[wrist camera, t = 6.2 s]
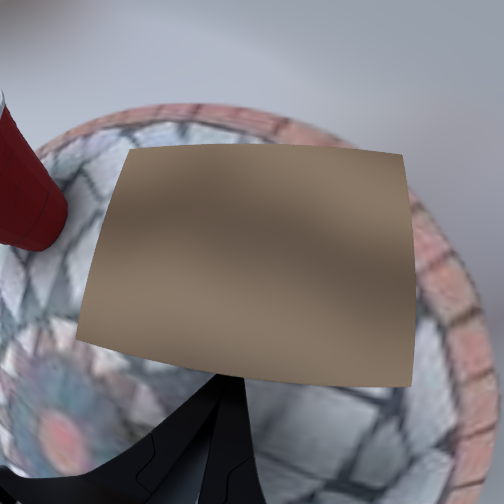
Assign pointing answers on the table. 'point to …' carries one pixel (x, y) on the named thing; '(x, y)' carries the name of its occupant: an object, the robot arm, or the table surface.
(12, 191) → the plastic cup
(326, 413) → the table surface
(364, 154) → the brown box
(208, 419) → the robot arm
